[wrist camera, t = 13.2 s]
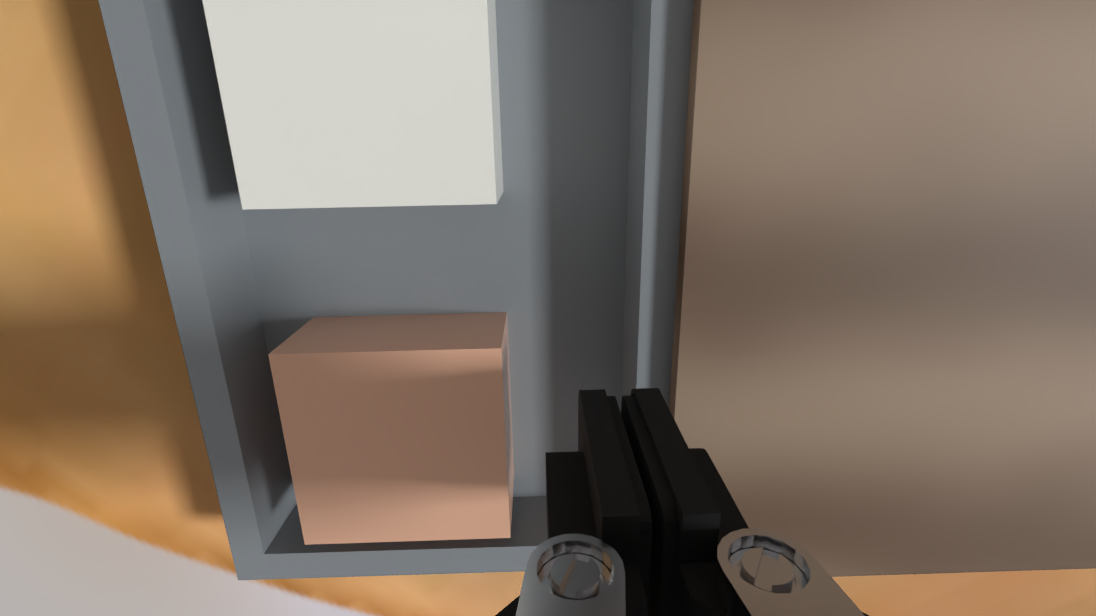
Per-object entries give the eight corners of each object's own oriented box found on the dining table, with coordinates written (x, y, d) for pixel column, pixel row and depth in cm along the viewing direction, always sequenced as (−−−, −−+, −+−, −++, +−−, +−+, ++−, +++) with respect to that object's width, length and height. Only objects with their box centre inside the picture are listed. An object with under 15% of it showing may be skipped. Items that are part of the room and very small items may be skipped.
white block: (482, -94, 9) (493, -46, 11) (185, -91, 9) (258, -43, 11) (496, 204, 11) (503, 191, 13) (242, 209, 11) (296, 196, 13)
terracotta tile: (501, 348, 12) (506, 311, 14) (268, 354, 11) (313, 316, 14) (510, 537, 13) (514, 476, 15) (304, 544, 13) (340, 481, 15)
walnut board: (671, -171, 11) (719, -275, 8) (1225, -173, 12) (1454, -275, 9) (641, 504, 16) (664, 582, 14) (1023, 493, 17) (1124, 567, 14)
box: (144, -169, 11) (37, -252, 9) (671, -171, 11) (709, -254, 9) (281, 515, 16) (238, 579, 14) (641, 504, 16) (659, 567, 14)
